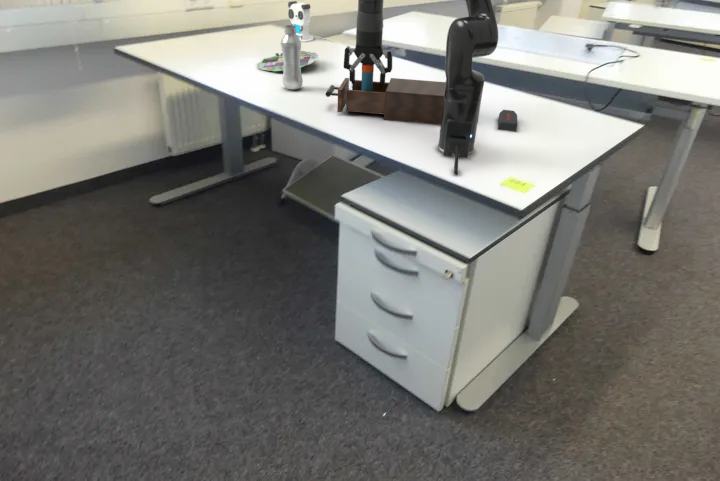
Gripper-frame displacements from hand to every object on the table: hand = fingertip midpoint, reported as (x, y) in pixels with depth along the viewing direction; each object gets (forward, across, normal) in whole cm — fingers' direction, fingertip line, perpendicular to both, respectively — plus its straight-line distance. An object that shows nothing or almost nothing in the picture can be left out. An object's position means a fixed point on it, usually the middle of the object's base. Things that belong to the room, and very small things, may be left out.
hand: (367, 84), depth 163 cm
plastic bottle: (+8, -27, +15) cm, 32 cm away
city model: (+9, -36, +42) cm, 56 cm away
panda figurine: (+9, -43, +86) cm, 97 cm away
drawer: (+7, -1, 0) cm, 7 cm away
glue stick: (+6, 0, 0) cm, 6 cm away
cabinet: (+8, +16, 0) cm, 18 cm away
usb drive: (+8, +43, -1) cm, 44 cm away
